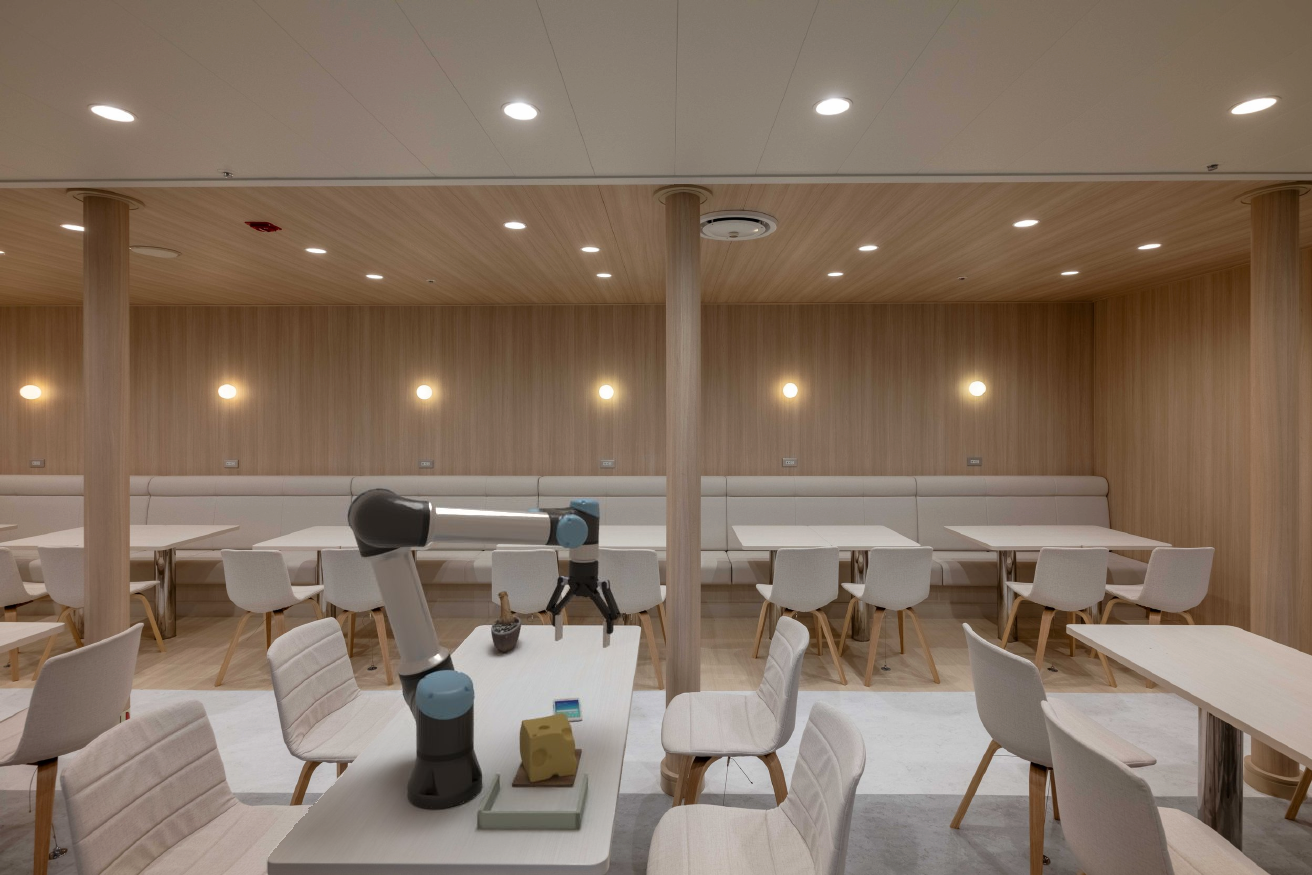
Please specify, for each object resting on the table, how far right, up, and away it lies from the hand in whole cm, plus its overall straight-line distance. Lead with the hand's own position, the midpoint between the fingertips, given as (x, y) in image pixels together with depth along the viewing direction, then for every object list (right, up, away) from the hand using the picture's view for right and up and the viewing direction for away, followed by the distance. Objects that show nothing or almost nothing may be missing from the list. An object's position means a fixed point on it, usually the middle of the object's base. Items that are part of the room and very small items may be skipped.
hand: (582, 642), depth 172 cm
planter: (-34, -22, +65) cm, 76 cm away
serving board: (-5, -22, -20) cm, 30 cm away
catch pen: (-5, -22, -36) cm, 42 cm away
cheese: (-5, -22, -22) cm, 31 cm away
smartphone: (-5, -23, +12) cm, 26 cm away
